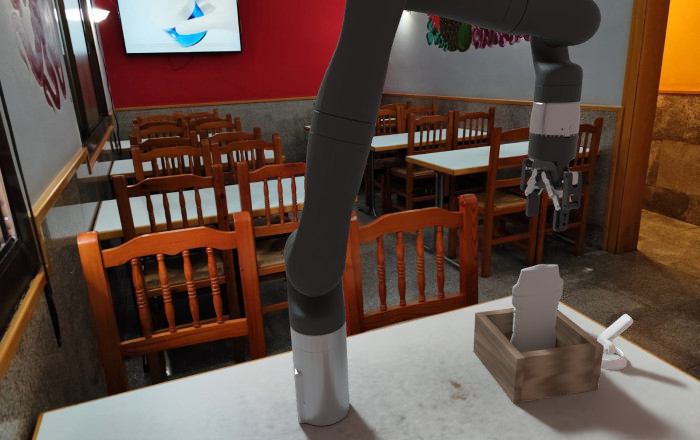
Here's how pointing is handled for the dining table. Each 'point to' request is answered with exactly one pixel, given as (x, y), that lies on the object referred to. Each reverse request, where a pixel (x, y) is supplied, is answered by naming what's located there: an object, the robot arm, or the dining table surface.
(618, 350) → the white vr controller
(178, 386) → the dining table surface
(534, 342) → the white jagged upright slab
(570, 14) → the robot arm
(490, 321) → the open wooden box
